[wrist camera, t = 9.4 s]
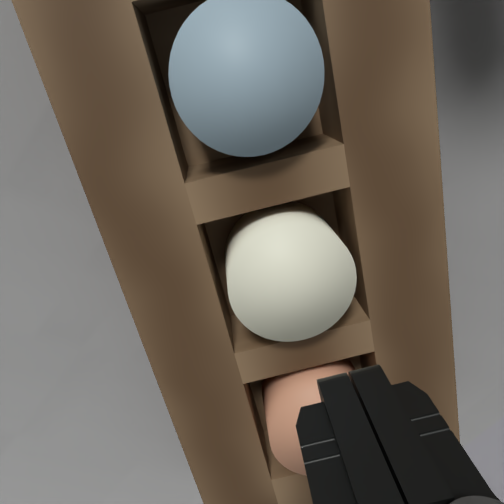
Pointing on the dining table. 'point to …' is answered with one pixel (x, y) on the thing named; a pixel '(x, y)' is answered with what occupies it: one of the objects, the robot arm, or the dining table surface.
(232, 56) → the slate button
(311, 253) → the cream button
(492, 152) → the dining table surface
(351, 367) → the terracotta button
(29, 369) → the dining table surface
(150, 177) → the wooden slotted tray
